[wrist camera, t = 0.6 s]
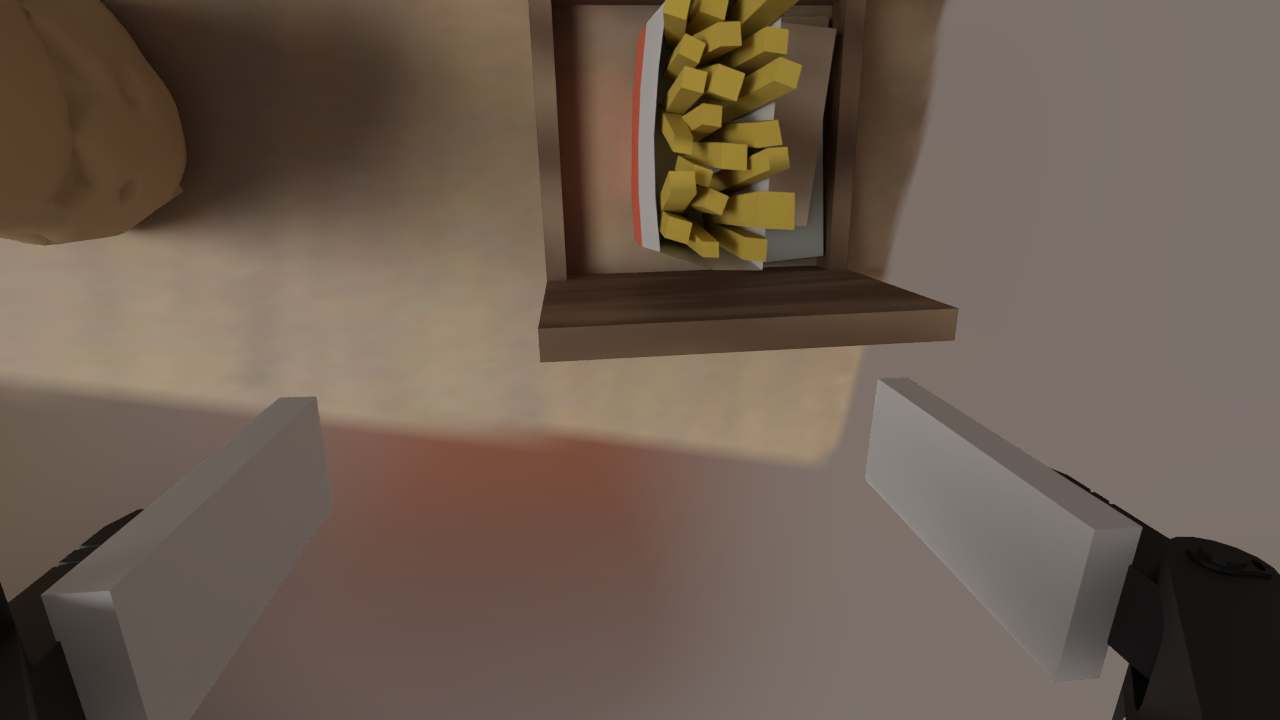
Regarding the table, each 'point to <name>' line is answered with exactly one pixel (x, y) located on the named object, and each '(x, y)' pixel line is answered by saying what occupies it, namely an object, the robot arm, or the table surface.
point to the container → (80, 125)
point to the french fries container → (711, 131)
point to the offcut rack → (775, 296)
